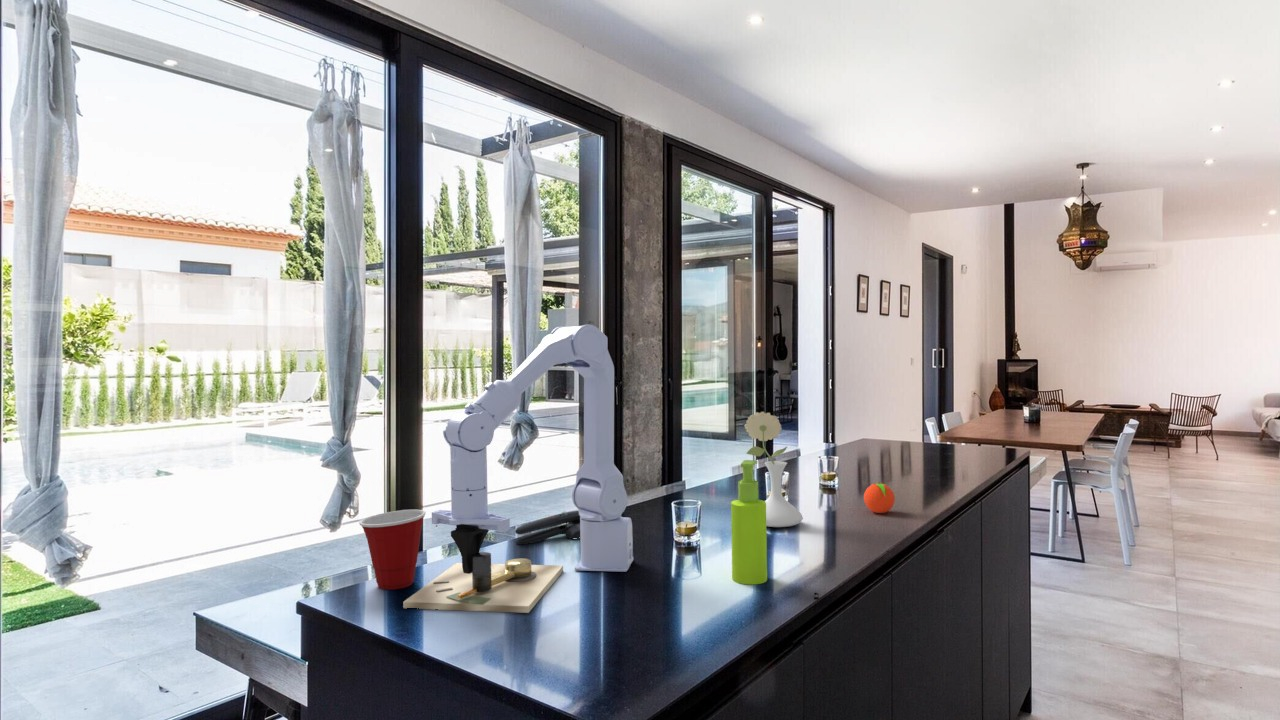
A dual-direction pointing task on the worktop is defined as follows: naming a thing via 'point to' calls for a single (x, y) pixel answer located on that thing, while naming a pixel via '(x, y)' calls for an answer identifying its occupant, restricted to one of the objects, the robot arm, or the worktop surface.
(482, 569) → the lever
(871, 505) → the clementine
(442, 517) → the robot arm
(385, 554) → the plastic cup
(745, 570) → the soap dispenser
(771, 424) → the flower in vase
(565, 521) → the can opener
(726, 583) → the worktop surface
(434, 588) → the dial board
